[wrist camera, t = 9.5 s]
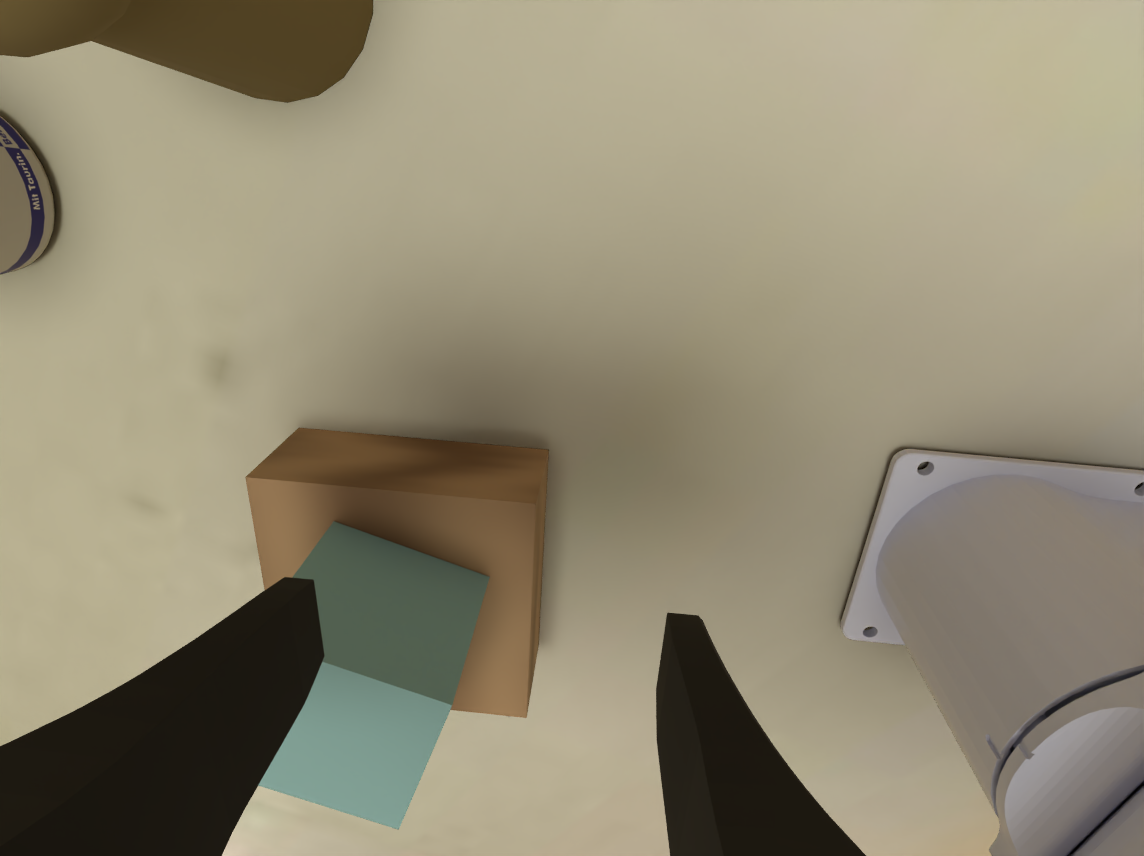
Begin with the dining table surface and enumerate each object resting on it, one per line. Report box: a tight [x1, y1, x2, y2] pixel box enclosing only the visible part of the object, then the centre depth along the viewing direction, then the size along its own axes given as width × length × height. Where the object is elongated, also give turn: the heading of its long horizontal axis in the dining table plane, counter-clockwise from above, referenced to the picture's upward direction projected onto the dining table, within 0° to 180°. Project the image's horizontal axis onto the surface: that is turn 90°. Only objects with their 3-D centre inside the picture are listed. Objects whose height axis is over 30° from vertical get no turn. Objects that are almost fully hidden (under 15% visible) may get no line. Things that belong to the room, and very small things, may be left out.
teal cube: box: [259, 521, 490, 830], centre depth 19 cm, size 5×5×5 cm
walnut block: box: [246, 428, 549, 718], centre depth 24 cm, size 9×9×4 cm
